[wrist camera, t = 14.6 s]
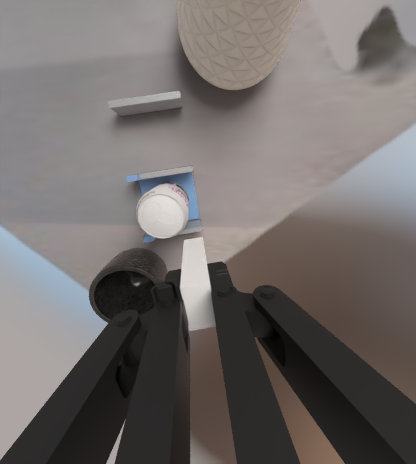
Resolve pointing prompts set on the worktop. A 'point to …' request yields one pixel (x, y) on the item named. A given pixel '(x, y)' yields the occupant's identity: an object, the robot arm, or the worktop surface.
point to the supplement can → (163, 210)
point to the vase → (235, 38)
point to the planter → (127, 283)
